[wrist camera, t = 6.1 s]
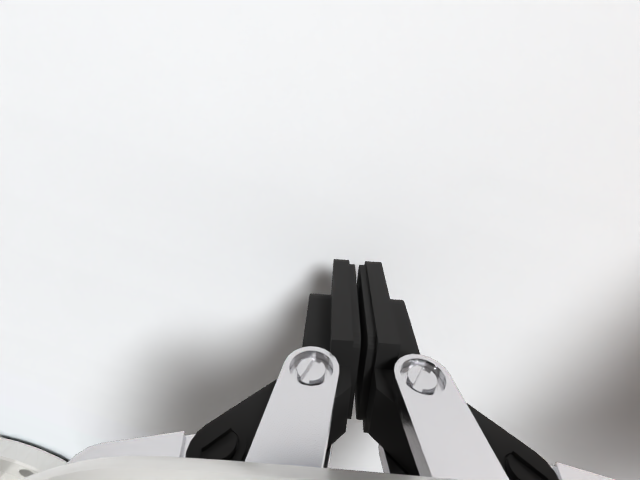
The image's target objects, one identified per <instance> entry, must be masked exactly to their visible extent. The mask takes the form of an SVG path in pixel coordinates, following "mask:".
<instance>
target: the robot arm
mask: <svg viewBox="0 0 640 480" xmlns="http://www.w3.org/2000/svg"><path fill="white" fill-rule="evenodd" d="M354 393H355V406H356V419H358V420H363V430H364V432H365V433H369V435H370V436H371V437H372V438H373V439H374V440H376V441H377V442H378V443H379V446H378V448H379V456H380V460H381V464H382V468H383V472H384V473H378V472H366V471H354V470H342V469H331V468H329V462H330V456H331V449H332V444H333V443H334V442H335V441H336V440H337V439H338V438H339V437H340V436H341V435H343V434H344V433H345V432H346V424H347V419H351V416H352V408H353V401H354ZM0 480H615V479H612V478H609V477H605V476H602V475H599V474H595V473H592V472H589V471H585V470H582V469H579V468H575V467H572V466H568V465H565V464H562V463H558V462H556V463H555V464H554V466H551V465H549V464H548V463H547V462H546V461H545V460H544V459H543V458H542V457H541V456H539V455H538V454H537V453H536V452H535V451H533V450H532V449H530V448H529V447H528V446H526V445H525V444H523V443H522V442H521V441H519V440H518V439H516V438H515V437H514V436H512V435H511V434H509V433H508V432H507V431H505V430H504V429H502V428H501V427H500V426H498V425H497V424H495V423H494V422H493V421H491V420H490V419H488V418H487V417H485V416H484V415H483V414H481V413H480V412H478V411H477V410H476V409H474V408H473V407H471V406H470V405H469V404H467V403H466V402H465V400H464V398H463V397H462V395H461V393H460V391H459V389H458V388H457V386H456V384H455V382H454V381H453V379H452V377H451V375H450V374H449V372H448V371H447V370H446V368H445V367H444V366H443V365H441V364H440V363H439V362H438V361H436V360H434V359H432V358H430V357H427V356H424V355H420V353H419V349H418V346H417V343H416V339H415V336H414V333H413V329H412V326H411V323H410V319H409V316H408V313H407V309H406V306H405V303H404V301H403V300H393V299H390V297H389V293H388V288H387V284H386V280H385V276H384V272H383V267H382V263H381V262H369V261H365V265H359V269H358V278H357V284H356V273H355V265H354V264H349V260H338V259H334V263H333V277H332V290H331V295H321V294H310V296H309V303H308V310H307V317H306V324H305V331H304V339H303V346H302V348H299V349H297V350H295V351H293V352H292V353H291V354H289V355H288V357H287V358H286V360H285V361H284V364H283V366H282V369H281V371H280V374H279V376H278V379H276V380H275V381H273V382H272V383H270V384H269V385H267V386H266V387H264V388H262V389H261V390H259V391H258V392H256V393H255V394H253V395H252V396H250V397H248V398H247V399H245V400H244V401H242V402H241V403H239V404H238V405H236V406H234V407H233V408H231V409H230V410H228V411H227V412H225V413H224V414H222V415H221V416H219V417H217V418H216V419H214V420H213V421H211V422H210V423H208V424H207V425H205V426H204V427H203V428H202V429H200V430H199V431H198V432H197V433H196V434H191V435H185V432H184V431H180V432H173V433H166V434H159V435H153V436H146V437H139V438H132V439H125V440H119V441H112V442H105V443H100V444H97V445H93V446H90V447H88V448H86V449H84V450H83V451H81V452H79V453H78V454H76V455H75V456H74V457H73V458H72V459H71V460H70V461H69V462H66V461H64V460H63V459H61V458H59V457H57V456H55V455H53V454H50V453H48V452H46V451H44V450H42V449H39V448H36V447H33V446H30V445H28V444H25V443H22V442H18V441H14V440H10V439H6V438H2V437H0Z"/></svg>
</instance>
